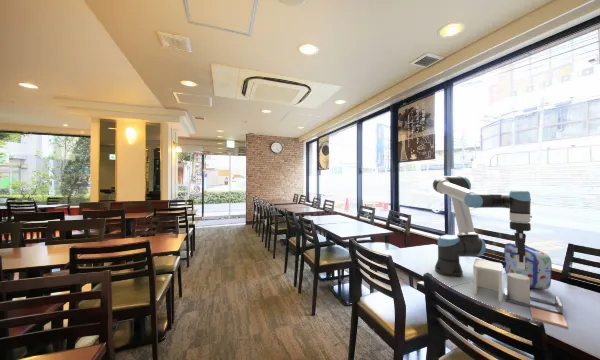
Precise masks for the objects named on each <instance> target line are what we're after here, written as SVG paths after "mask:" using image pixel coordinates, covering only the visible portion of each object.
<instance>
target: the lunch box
mask: <svg viewBox="0 0 600 360" xmlns="http://www.w3.org/2000/svg"><path fill="white" fill-rule="evenodd" d="M515 244H516V243H514V242H507V243H506V244H504V249H503V250H504V251H503V255H504V257H503V258H504V261H503V262H502V269H504V272H505V274H508V273H517V274H521V275H525V276H527V277H529V278H530V288H532V289H533V288H534V289H542V290H549V288H550V287H551V284H552V259H551V257H550V256H549V255H548V254H547V253H545V252H543V251H541V250H538V249H535V248H533V247H530V246H528V245H526V244H525V254H526V255H525V270H524V269H519V268H517V261H516V245H515Z"/></svg>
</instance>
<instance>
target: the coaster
mask: <svg viewBox="0 0 600 360" xmlns="http://www.w3.org/2000/svg"><path fill="white" fill-rule="evenodd" d="M529 309H530V312H531V316H532V320H536V321H539V322H543V323H547V324H550V323H551V324H552V325H554V326H558V327H562V328H565V329H568V327H569V326H568V324H567V322H566V319H565V317H564V314H563V315H559V314H555V313H551V312H547V311H543V310H540V309H536V308H532V307H529ZM551 324H550V325H551Z"/></svg>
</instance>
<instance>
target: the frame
mask: <svg viewBox="0 0 600 360" xmlns="http://www.w3.org/2000/svg"><path fill="white" fill-rule="evenodd" d="M530 300H531V301H535V302H539V303H544V304H548V305H552V306H555V307H556V310H555V309H551V308H546V307H542V306H538V305H536V304H531V303H530V304H527V303H523V302H519V301H515V300H511V299H508V295H507V286H504V301H505V302H509V303H512V304H517V305H521V306H525V307H528V308H530V307H532V308H536V309H540V310H543V311H547V312H551V313H555V314H559V315H563V316H564V314H563V312H564V311H563V310H564V309H563V304H562V302H561V300H560V298H559V296H556V295H554V301H552V300H551V301H550V300H546V299H543V298H537V297H533V296H530Z"/></svg>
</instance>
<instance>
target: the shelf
mask: <svg viewBox="0 0 600 360" xmlns="http://www.w3.org/2000/svg"><path fill="white" fill-rule="evenodd" d="M473 263H474V264H473V265H472V266H473V267H472V268H473V286H472V288H473V295H475V296H477V294H478V289H479V288H484V289H488V290H491V291H492V290H493V291H495V292H498V302H503V295H502V294H503V286H502V285H503V275H502V274H503V271H502V270H503V262H502V263H501V262H496V261H491V260H486V259H479V258H475V259H474V262H473Z"/></svg>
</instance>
